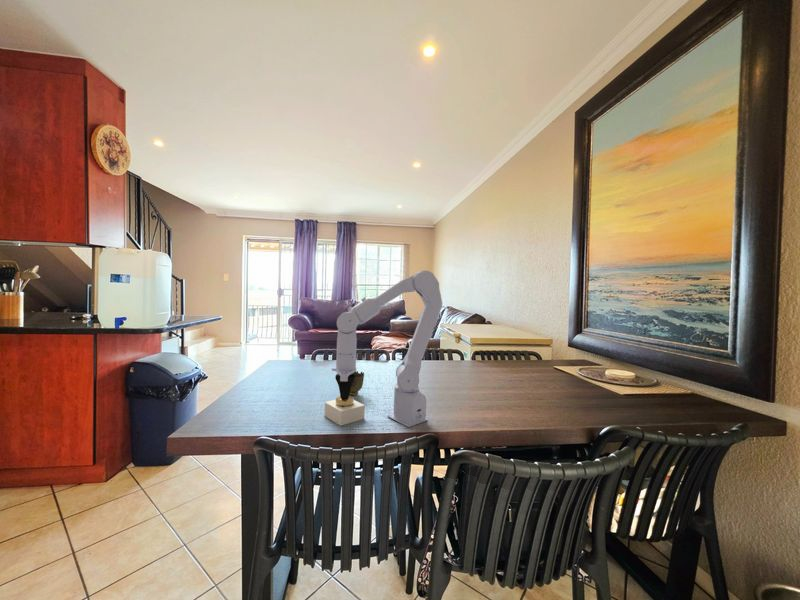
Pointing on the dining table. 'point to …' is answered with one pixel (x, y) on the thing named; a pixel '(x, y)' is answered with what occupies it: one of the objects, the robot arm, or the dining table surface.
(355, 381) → the cup
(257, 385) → the dining table surface
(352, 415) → the block
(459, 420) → the dining table surface
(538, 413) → the dining table surface
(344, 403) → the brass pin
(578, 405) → the dining table surface
